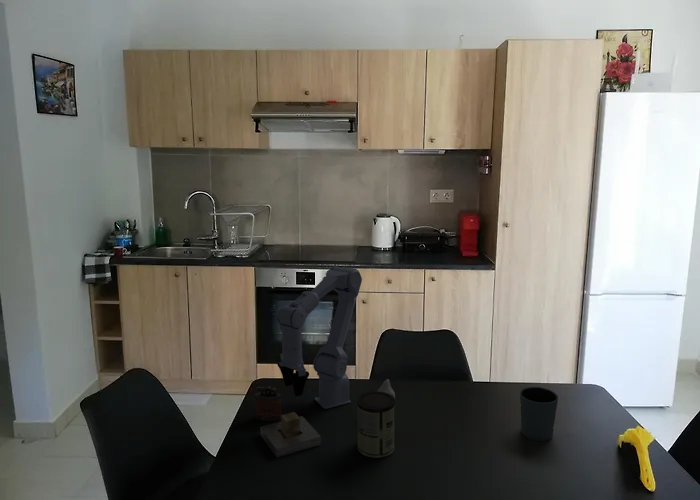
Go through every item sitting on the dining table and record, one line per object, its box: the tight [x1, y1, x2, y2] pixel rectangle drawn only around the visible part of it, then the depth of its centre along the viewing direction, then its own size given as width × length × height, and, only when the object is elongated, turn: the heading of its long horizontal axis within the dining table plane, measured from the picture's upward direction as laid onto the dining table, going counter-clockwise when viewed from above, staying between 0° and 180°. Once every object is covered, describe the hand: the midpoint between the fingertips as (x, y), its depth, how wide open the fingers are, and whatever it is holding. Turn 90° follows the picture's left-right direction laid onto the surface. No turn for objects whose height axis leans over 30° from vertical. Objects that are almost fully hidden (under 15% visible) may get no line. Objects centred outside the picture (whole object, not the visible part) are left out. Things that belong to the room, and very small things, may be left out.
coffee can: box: [356, 390, 396, 459], centre depth 142 cm, size 10×10×14 cm
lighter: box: [254, 385, 282, 422], centre depth 159 cm, size 8×3×10 cm, turn 84°
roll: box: [377, 378, 396, 399], centre depth 160 cm, size 6×12×6 cm
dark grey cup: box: [519, 386, 559, 442], centre depth 149 cm, size 10×10×12 cm
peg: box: [280, 411, 300, 439], centre depth 147 cm, size 4×4×7 cm
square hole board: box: [259, 415, 322, 458], centre depth 147 cm, size 13×13×2 cm
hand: (293, 390), depth 155 cm, fingers open, 7 cm apart
